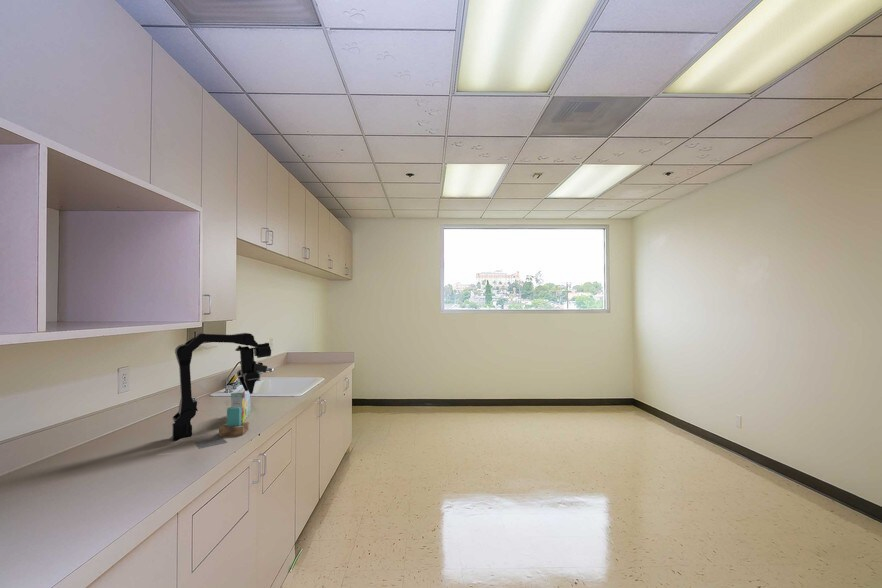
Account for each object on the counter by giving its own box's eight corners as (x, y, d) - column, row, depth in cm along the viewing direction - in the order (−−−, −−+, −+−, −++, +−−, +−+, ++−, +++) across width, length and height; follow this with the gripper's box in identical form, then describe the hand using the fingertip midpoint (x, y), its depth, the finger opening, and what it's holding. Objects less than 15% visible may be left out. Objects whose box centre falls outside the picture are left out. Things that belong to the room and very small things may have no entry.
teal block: (226, 434, 167) (227, 408, 167) (229, 432, 169) (229, 407, 170) (239, 433, 168) (239, 408, 168) (241, 431, 170) (241, 406, 171)
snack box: (239, 413, 203) (239, 384, 204) (250, 412, 205) (251, 383, 206) (230, 424, 183) (230, 392, 184) (243, 423, 185) (243, 391, 185)
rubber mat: (198, 450, 150) (198, 448, 150) (194, 443, 158) (194, 442, 158) (227, 443, 157) (227, 442, 157) (221, 437, 164) (221, 436, 164)
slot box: (218, 437, 164) (219, 428, 164) (225, 432, 171) (225, 423, 171) (242, 436, 166) (242, 426, 166) (248, 431, 173) (248, 422, 173)
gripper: (270, 358, 181) (272, 391, 180) (260, 355, 195) (262, 386, 195) (244, 361, 174) (246, 396, 173) (236, 358, 188) (237, 390, 188)
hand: (248, 392), depth 182 cm, fingers open, 9 cm apart
